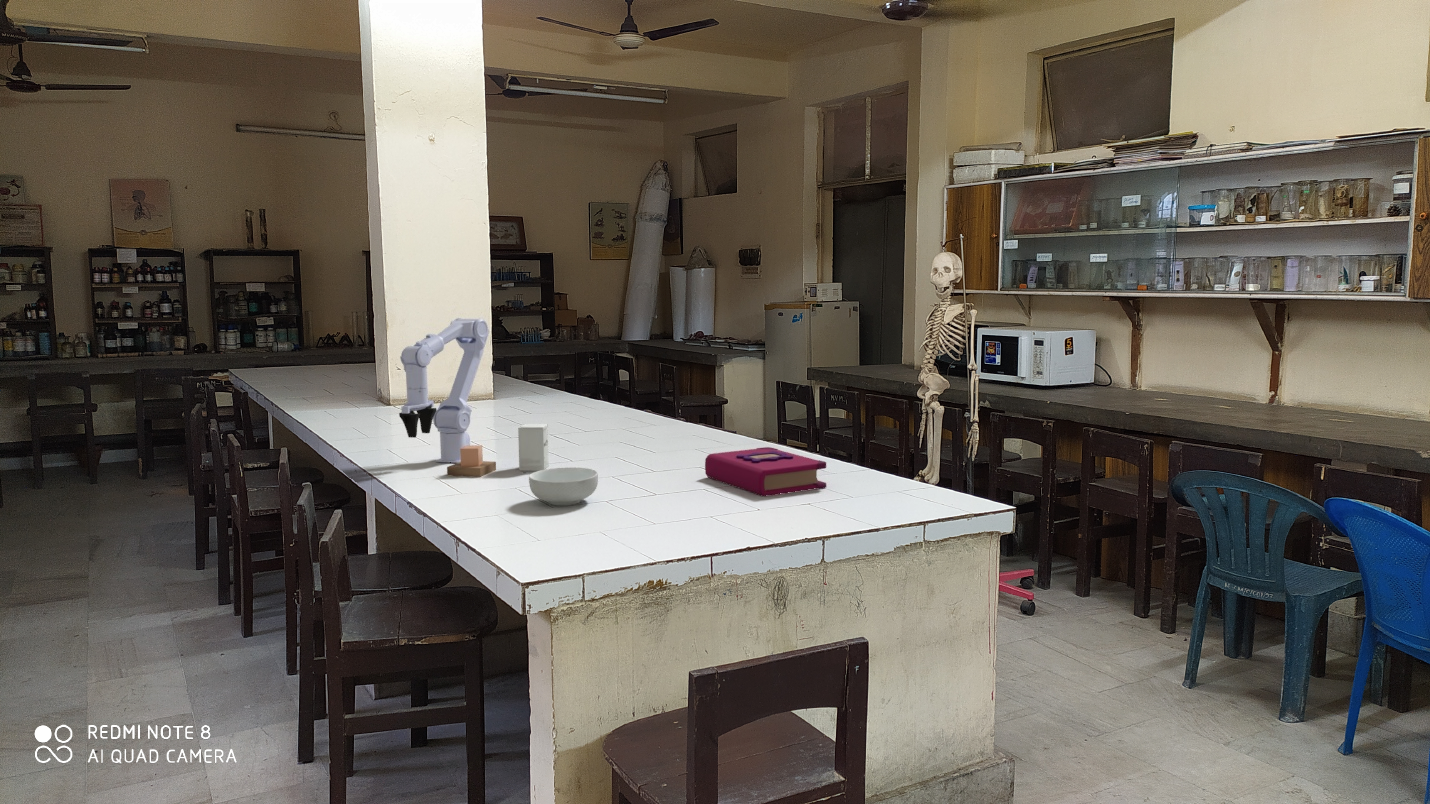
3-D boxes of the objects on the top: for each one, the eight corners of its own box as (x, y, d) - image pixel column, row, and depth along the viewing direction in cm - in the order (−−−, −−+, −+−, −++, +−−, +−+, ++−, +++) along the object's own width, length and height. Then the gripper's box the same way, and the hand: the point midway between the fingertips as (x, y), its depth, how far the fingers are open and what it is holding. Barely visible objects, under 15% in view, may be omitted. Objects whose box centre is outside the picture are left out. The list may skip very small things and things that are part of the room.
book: (760, 498, 244) (760, 468, 243) (704, 479, 268) (704, 451, 267) (828, 489, 254) (828, 460, 253) (769, 471, 278) (769, 444, 277)
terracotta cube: (465, 462, 278) (464, 445, 278) (482, 462, 278) (482, 445, 278) (460, 466, 273) (460, 448, 273) (478, 466, 273) (478, 448, 273)
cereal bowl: (524, 497, 245) (523, 469, 244) (589, 492, 250) (588, 465, 250) (536, 512, 229) (535, 483, 228) (606, 506, 235) (605, 477, 234)
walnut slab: (463, 470, 282) (463, 460, 282) (496, 472, 280) (495, 461, 280) (447, 477, 273) (447, 467, 272) (480, 479, 270) (480, 468, 270)
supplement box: (544, 471, 278) (543, 427, 276) (518, 471, 278) (517, 427, 276) (549, 466, 285) (548, 423, 284) (524, 466, 285) (522, 423, 284)
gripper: (417, 385, 287) (419, 430, 288) (390, 390, 273) (393, 438, 274) (439, 385, 285) (441, 431, 287) (413, 391, 271) (415, 439, 273)
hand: (419, 435), depth 281 cm, fingers open, 7 cm apart
